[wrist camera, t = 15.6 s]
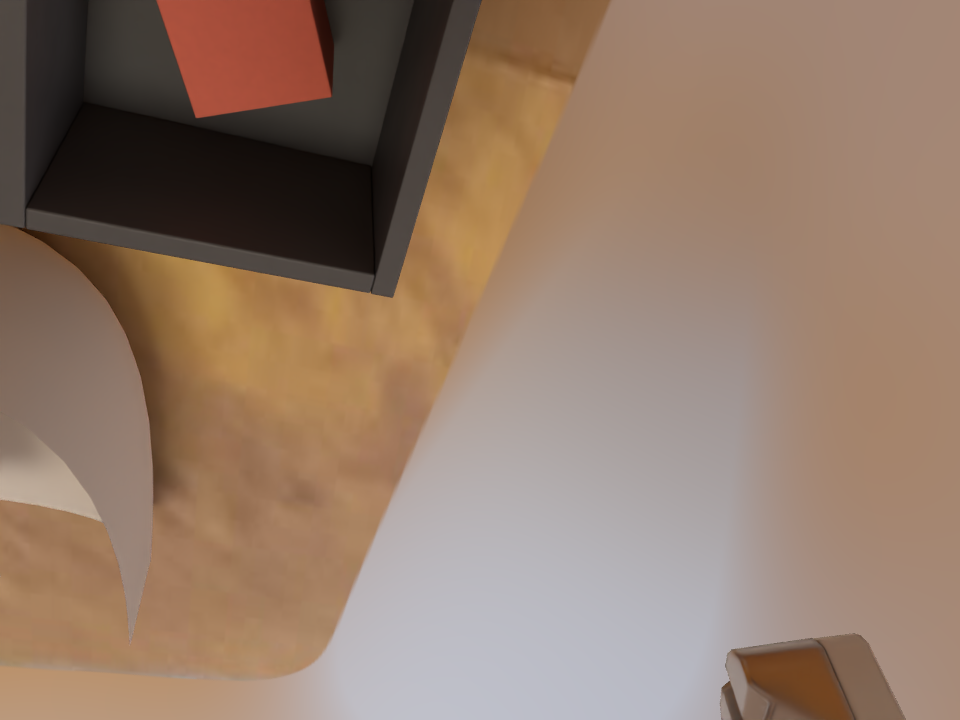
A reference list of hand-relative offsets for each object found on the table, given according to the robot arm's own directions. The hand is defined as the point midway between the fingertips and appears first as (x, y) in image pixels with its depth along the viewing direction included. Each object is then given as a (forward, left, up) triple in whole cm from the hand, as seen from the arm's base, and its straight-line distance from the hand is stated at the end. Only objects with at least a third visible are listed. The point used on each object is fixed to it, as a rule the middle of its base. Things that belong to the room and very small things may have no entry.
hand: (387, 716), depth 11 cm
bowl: (+15, +21, -29) cm, 39 cm away
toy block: (+4, +2, -28) cm, 29 cm away
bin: (+4, +2, -29) cm, 29 cm away
